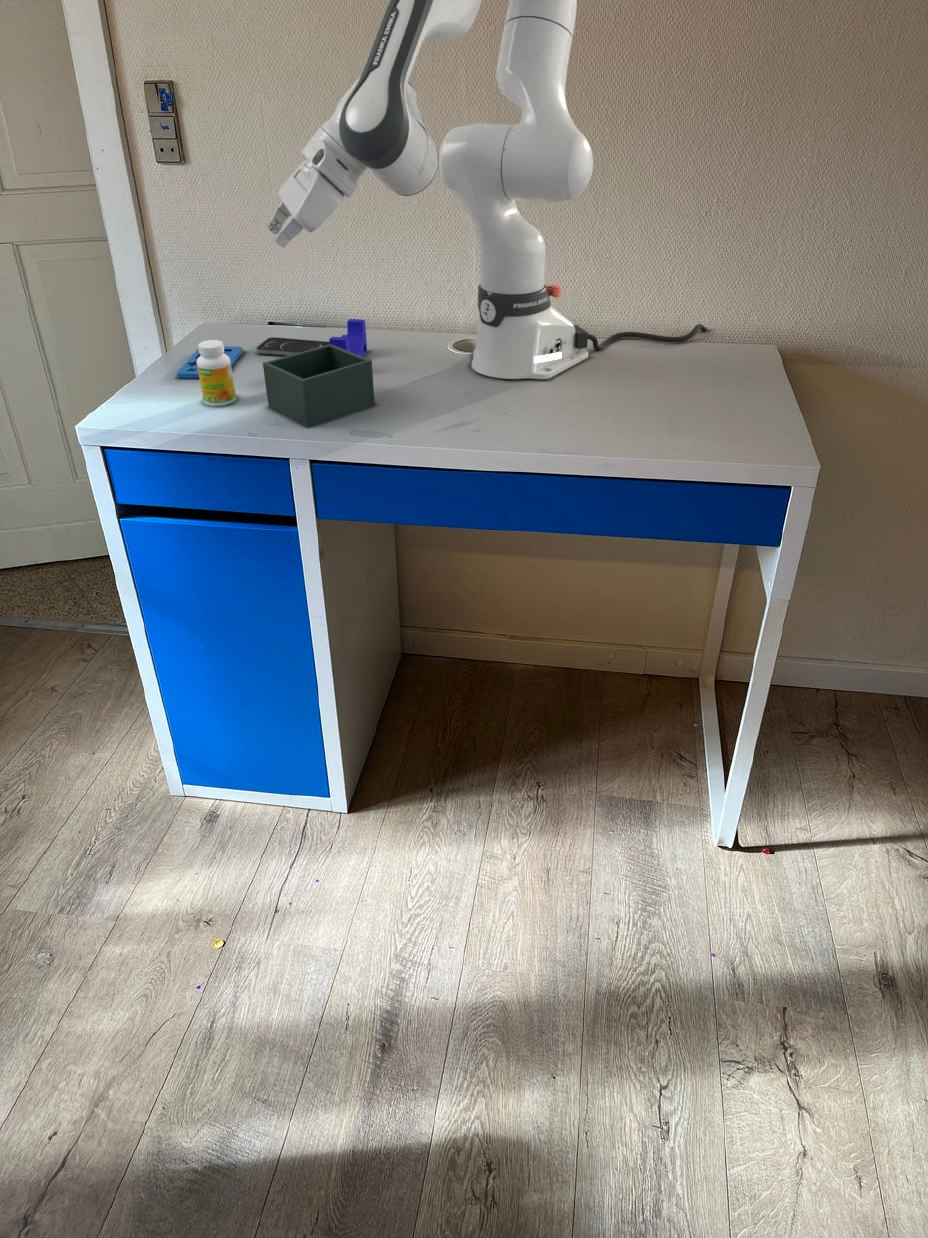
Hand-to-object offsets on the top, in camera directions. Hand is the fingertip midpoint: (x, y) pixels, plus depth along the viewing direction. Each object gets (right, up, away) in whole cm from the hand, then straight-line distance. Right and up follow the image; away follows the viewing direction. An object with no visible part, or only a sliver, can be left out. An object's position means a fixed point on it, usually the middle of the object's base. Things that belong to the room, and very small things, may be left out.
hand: (274, 236), depth 146 cm
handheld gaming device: (-17, -13, +26) cm, 33 cm away
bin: (+6, -25, +8) cm, 27 cm away
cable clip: (+8, -12, +26) cm, 30 cm away
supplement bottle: (-11, -23, +11) cm, 28 cm away
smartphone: (-2, -9, +31) cm, 33 cm away
